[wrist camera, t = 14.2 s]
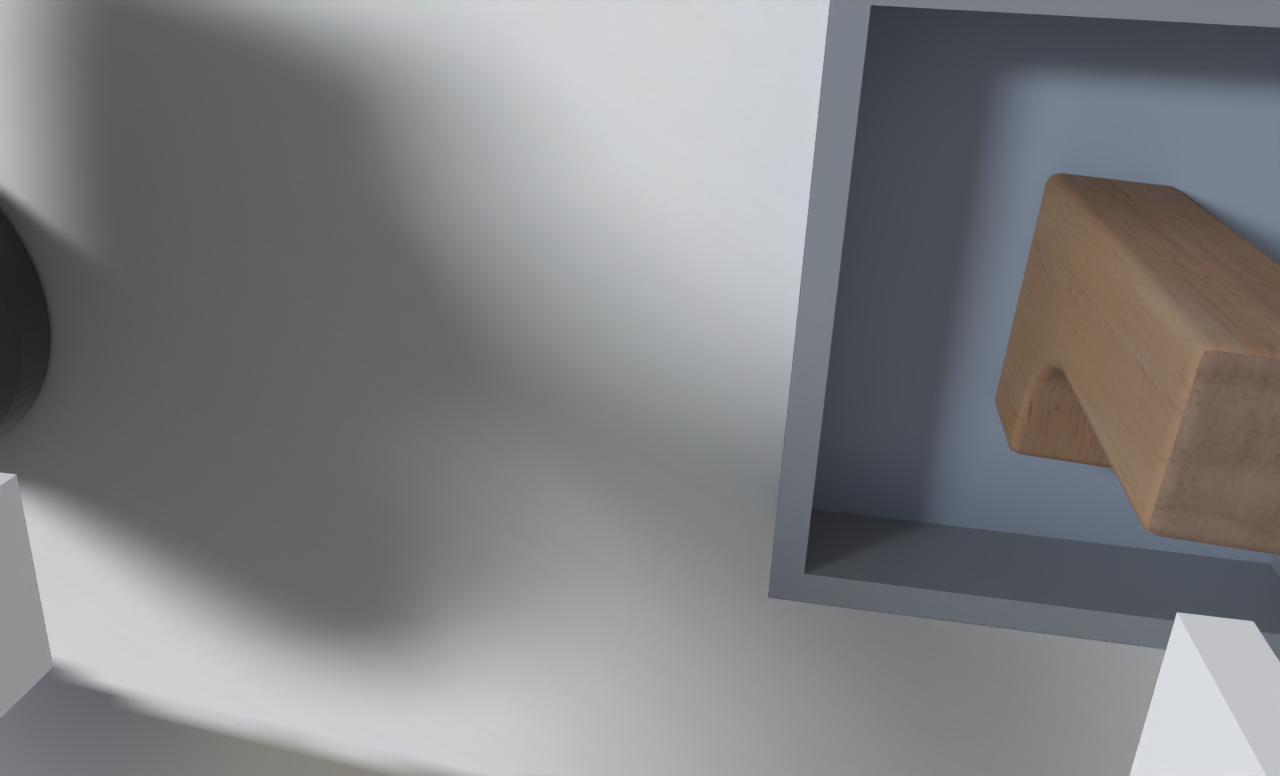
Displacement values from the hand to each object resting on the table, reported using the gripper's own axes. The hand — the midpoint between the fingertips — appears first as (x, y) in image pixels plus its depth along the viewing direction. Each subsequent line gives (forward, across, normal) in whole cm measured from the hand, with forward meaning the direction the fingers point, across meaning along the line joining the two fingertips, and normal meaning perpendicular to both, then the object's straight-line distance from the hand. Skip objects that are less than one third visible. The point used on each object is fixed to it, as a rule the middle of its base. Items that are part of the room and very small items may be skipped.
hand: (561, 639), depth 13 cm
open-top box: (+30, +13, -4) cm, 33 cm away
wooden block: (+29, +13, -4) cm, 33 cm away
